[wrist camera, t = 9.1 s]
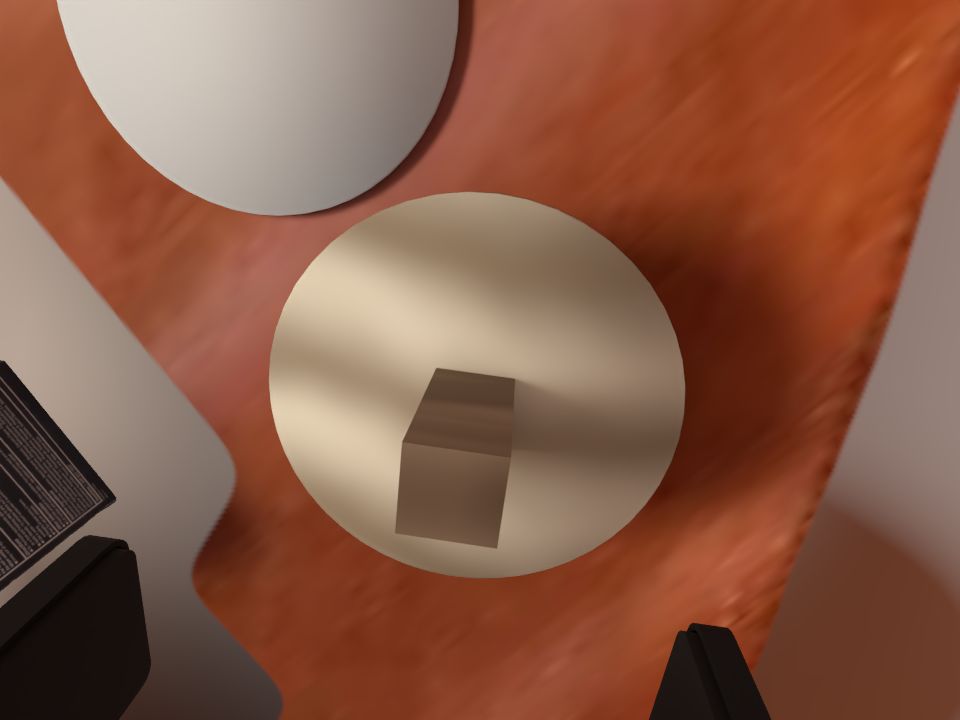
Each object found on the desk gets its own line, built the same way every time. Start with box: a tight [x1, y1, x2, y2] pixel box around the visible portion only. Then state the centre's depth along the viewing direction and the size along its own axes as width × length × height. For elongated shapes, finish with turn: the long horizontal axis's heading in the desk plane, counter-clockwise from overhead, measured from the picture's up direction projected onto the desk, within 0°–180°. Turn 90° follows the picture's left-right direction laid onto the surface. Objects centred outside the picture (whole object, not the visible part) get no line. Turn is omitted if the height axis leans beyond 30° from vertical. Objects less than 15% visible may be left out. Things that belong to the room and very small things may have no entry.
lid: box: [269, 191, 685, 578], centre depth 18 cm, size 16×16×7 cm
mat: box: [57, 0, 459, 216], centre depth 24 cm, size 18×18×1 cm
